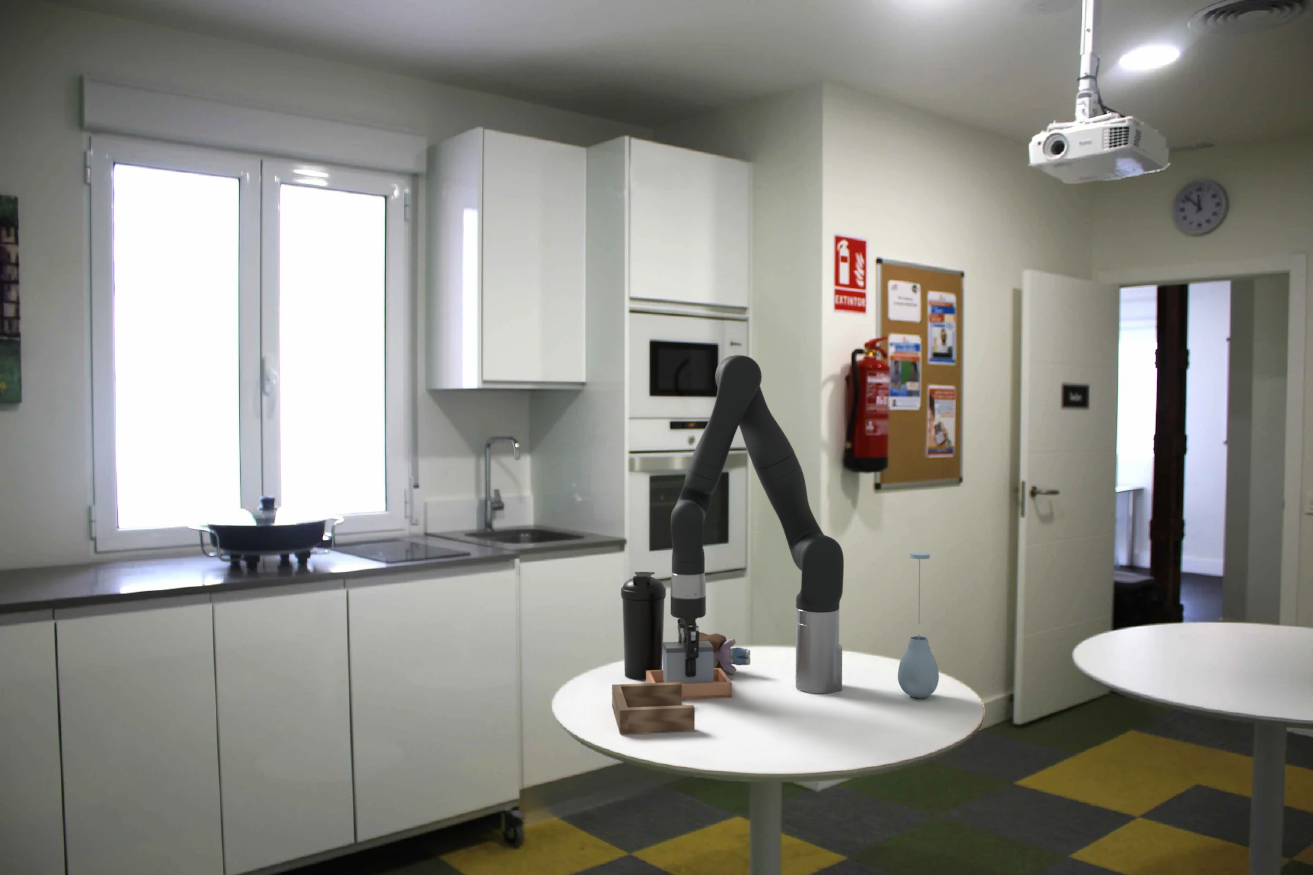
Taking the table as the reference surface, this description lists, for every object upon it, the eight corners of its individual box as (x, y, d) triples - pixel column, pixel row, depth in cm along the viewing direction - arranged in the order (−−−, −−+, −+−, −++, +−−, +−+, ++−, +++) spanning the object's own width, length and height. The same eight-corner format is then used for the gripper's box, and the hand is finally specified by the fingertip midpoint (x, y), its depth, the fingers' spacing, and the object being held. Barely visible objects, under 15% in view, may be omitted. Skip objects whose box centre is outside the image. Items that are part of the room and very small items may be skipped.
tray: (720, 681, 215) (720, 667, 215) (731, 697, 203) (731, 683, 203) (646, 684, 212) (646, 670, 212) (652, 700, 200) (652, 685, 200)
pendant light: (915, 704, 198) (916, 557, 197) (889, 693, 205) (890, 552, 205) (946, 699, 201) (948, 555, 200) (920, 689, 209) (921, 550, 208)
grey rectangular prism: (708, 677, 211) (708, 640, 211) (713, 684, 205) (713, 646, 205) (662, 679, 210) (662, 642, 209) (666, 686, 204) (666, 648, 204)
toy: (746, 679, 216) (681, 675, 220) (753, 670, 224) (691, 666, 228) (745, 640, 216) (680, 637, 220) (753, 632, 224) (690, 629, 228)
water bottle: (667, 669, 224) (667, 570, 224) (663, 681, 214) (663, 577, 214) (624, 668, 225) (624, 569, 225) (618, 680, 215) (618, 577, 215)
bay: (680, 703, 198) (680, 682, 198) (694, 730, 181) (694, 707, 181) (612, 706, 197) (612, 684, 196) (619, 734, 179) (619, 710, 179)
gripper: (711, 599, 200) (711, 681, 201) (699, 587, 215) (699, 663, 215) (675, 600, 199) (675, 682, 200) (666, 588, 214) (666, 664, 214)
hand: (688, 672), depth 207 cm, fingers closed on grey rectangular prism, 5 cm apart
